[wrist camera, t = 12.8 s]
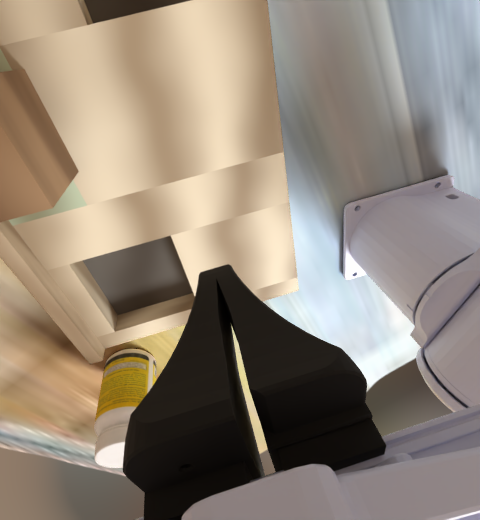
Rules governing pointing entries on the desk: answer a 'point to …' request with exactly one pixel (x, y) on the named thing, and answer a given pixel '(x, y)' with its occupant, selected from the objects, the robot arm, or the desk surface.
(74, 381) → the desk surface
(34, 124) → the walnut block
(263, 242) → the trap deck
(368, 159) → the desk surface
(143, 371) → the supplement bottle
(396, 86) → the desk surface
